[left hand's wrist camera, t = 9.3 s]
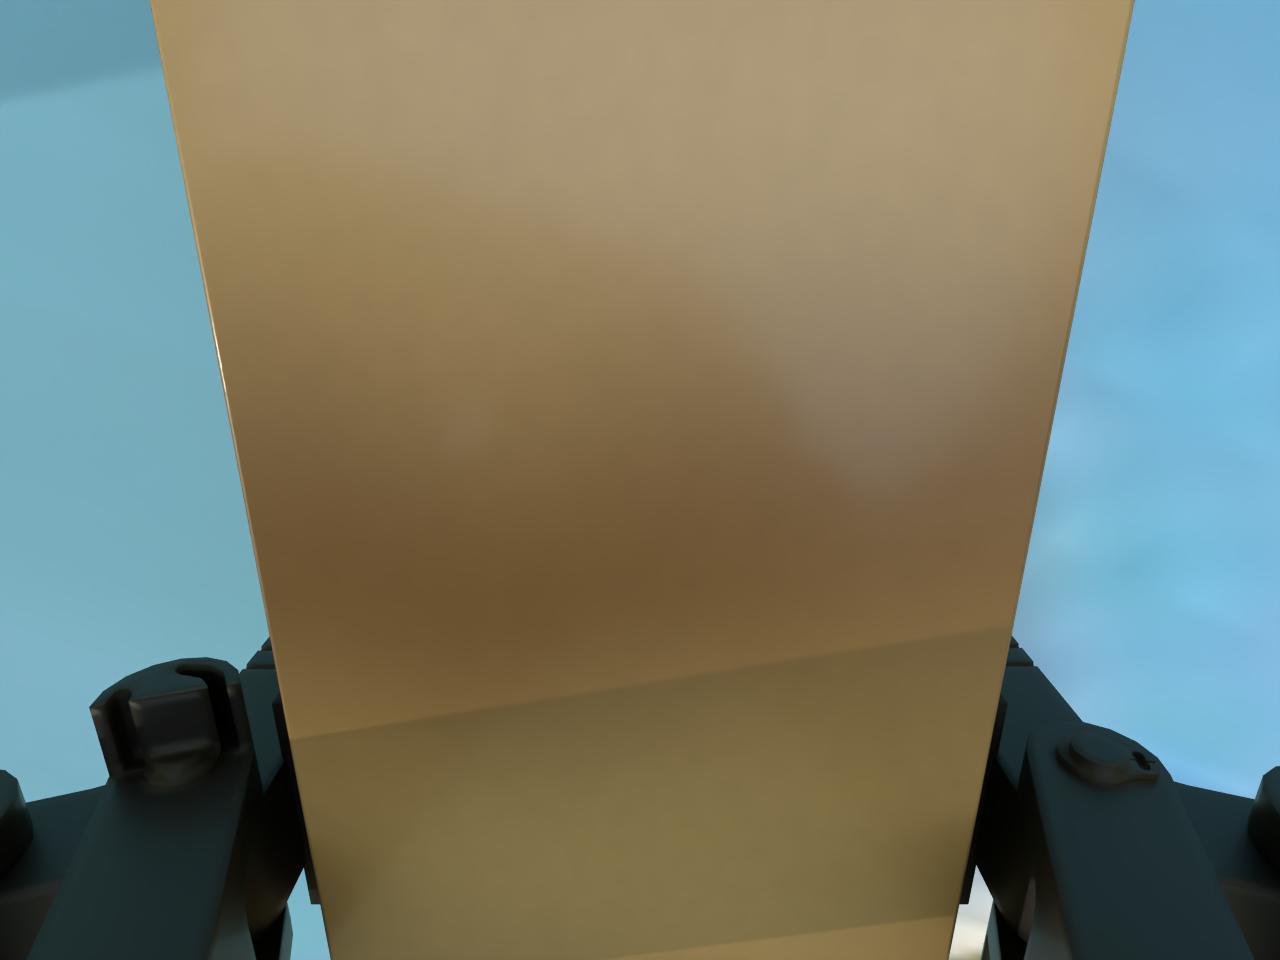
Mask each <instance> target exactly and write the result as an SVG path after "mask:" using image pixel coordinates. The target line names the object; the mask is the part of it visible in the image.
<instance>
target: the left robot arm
mask: <svg viewBox="0 0 1280 960" xmlns="http://www.w3.org/2000/svg"><path fill="white" fill-rule="evenodd" d="M261 647H262V649H261V651H257V653H256V654H255V655H254V656H253V657H252V659H251V660H250V661H249V662H248V664H247V668H246V669H243V670H242V671H241V672H240V673H239V672H238V670H237V669H236V668H235V667H233V666H232V665H231V664H230V663H228V662H227V661H223V660H218V659H213V658H208V657H203V658H185V659H178V660H174V661H169V662H165V663H161V664H157V665H153V666H150V667H148V668H146V669H143V670H141V671H138V672H136V673H133V674H131V675H129V676H126V677H125V678H123V679H121V680H120V681H118V682H117V683H115V684H114V685H112V686H111V687H109V688H108V689H106V690H104V691H103V692H102V693H101V694H100V696H99V697H98V698H97V699H96V700H95V701H94V702H93V704H92V705H91V706H90V707H89V708H90V711H91V715H92V718H93V721H94V725H95V728H96V732H97V735H98V738H99V742H100V745H101V749H102V752H103V755H104V759H105V762H106V765H107V769H108V772H109V778H108V781H107V783H106V785H104V786H100V787H97V788H93V789H89V790H84V791H79V792H75V793H70V794H65V795H61V796H56V797H51V798H46V799H42V800H37V801H32V802H28V803H25V800H24V797H23V794H22V791H21V788H20V785H19V783H18V780H17V779H16V778H15V777H14V776H12V775H11V774H9V773H8V772H7V771H5V770H0V960H290V955H291V947H292V938H293V931H292V925H291V918H290V913H289V908H288V903H287V900H288V898H289V896H290V894H291V892H292V890H293V888H294V886H295V884H296V882H297V880H298V878H299V876H300V874H301V872H302V870H303V868H304V870H305V876H306V881H307V886H308V891H309V896H310V901H311V904H320V899H319V894H318V889H317V884H316V878H315V873H314V868H313V862H312V857H311V852H310V846H309V841H308V836H307V831H306V825H305V820H304V815H303V809H302V804H301V799H300V793H299V788H298V783H297V778H296V772H295V767H294V762H293V756H292V751H291V746H290V740H289V735H288V730H287V725H286V719H285V714H284V709H283V703H282V698H281V693H280V687H279V682H278V677H277V671H276V666H275V661H274V656H273V650H272V645H271V640H270V637H269V638H268V639H267V640H266V642H265V643H264V644H263V645H262V646H261ZM976 865H977V867H978V869H979V871H980V873H981V875H982V877H983V879H984V881H985V883H986V885H987V887H988V889H989V891H990V893H991V895H992V897H993V903H992V908H991V913H990V918H989V922H988V927H987V932H986V937H985V941H984V946H983V951H982V955H981V960H1280V766H1276V767H1274V768H1273V769H1272V770H1270V771H1269V772H1267V773H1266V774H1265V775H1263V778H1262V780H1261V783H1260V786H1259V789H1258V792H1257V795H1256V798H1255V799H1250V798H1245V797H1241V796H1236V795H1231V794H1226V793H1222V792H1217V791H1212V790H1207V789H1203V788H1198V787H1193V786H1189V785H1185V784H1181V783H1178V782H1174V781H1173V779H1172V777H1171V775H1170V774H1169V772H1168V771H1167V770H1166V768H1165V767H1164V766H1163V764H1162V763H1161V762H1160V760H1159V759H1158V758H1157V757H1156V756H1155V755H1153V754H1152V753H1151V752H1149V751H1148V750H1147V749H1145V748H1144V747H1143V746H1141V745H1140V744H1139V743H1137V742H1136V741H1134V740H1132V739H1130V738H1127V737H1125V736H1123V735H1121V734H1119V733H1117V732H1115V731H1113V730H1111V729H1107V728H1103V727H1100V726H1096V725H1092V724H1089V723H1085V722H1083V721H1082V720H1081V719H1080V718H1079V717H1078V715H1077V714H1076V713H1075V712H1074V711H1073V709H1072V708H1071V707H1070V706H1069V704H1068V703H1067V702H1066V701H1065V700H1064V698H1063V697H1062V696H1061V695H1060V694H1059V692H1058V691H1057V690H1056V689H1055V687H1054V686H1053V685H1052V684H1051V683H1050V681H1049V680H1048V679H1047V678H1046V677H1045V675H1044V674H1043V673H1042V672H1041V670H1040V669H1039V668H1038V667H1037V666H1034V665H1033V661H1032V660H1031V658H1030V657H1029V656H1028V655H1027V653H1026V652H1025V651H1024V650H1023V649H1022V648H1019V646H1018V643H1017V641H1016V640H1015V639H1014V638H1013V636H1012V635H1011V640H1010V645H1009V650H1008V656H1007V661H1006V666H1005V671H1004V676H1003V681H1002V687H1001V692H1000V697H999V702H998V707H997V712H996V717H995V723H994V728H993V733H992V738H991V743H990V748H989V753H988V759H987V764H986V769H985V774H984V779H983V784H982V789H981V795H980V800H979V805H978V810H977V815H976V820H975V826H974V831H973V836H972V841H971V846H970V851H969V856H968V862H967V867H966V872H965V877H964V882H963V887H962V892H961V898H960V903H959V904H968V903H969V898H970V893H971V888H972V883H973V878H974V873H975V868H976Z"/></svg>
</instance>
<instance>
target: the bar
mask: <svg viewBox="0 0 1280 960" xmlns="http://www.w3.org/2000/svg"><path fill="white" fill-rule="evenodd" d="M1134 2H1135V0H150V4H151V9H152V14H153V19H154V25H155V30H156V35H157V41H158V46H159V51H160V57H161V62H162V67H163V72H164V78H165V83H166V88H167V94H168V99H169V104H170V110H171V115H172V120H173V125H174V131H175V136H176V141H177V147H178V152H179V157H180V163H181V168H182V173H183V178H184V184H185V189H186V194H187V200H188V205H189V210H190V216H191V221H192V226H193V231H194V237H195V242H196V247H197V253H198V258H199V263H200V269H201V274H202V279H203V284H204V290H205V295H206V300H207V306H208V311H209V316H210V322H211V327H212V332H213V338H214V343H215V348H216V353H217V359H218V364H219V369H220V375H221V380H222V385H223V391H224V396H225V401H226V406H227V412H228V417H229V422H230V428H231V433H232V438H233V444H234V449H235V454H236V459H237V465H238V470H239V475H240V481H241V486H242V491H243V497H244V502H245V507H246V512H247V518H248V523H249V528H250V534H251V539H252V544H253V550H254V555H255V560H256V565H257V571H258V576H259V581H260V587H261V592H262V597H263V603H264V608H265V613H266V618H267V624H268V629H269V634H270V640H271V645H272V650H273V656H274V661H275V666H276V671H277V677H278V682H279V687H280V693H281V698H282V703H283V709H284V714H285V719H286V725H287V730H288V735H289V740H290V746H291V751H292V756H293V762H294V767H295V772H296V778H297V783H298V788H299V793H300V799H301V804H302V809H303V815H304V820H305V825H306V831H307V836H308V841H309V846H310V852H311V857H312V862H313V868H314V873H315V878H316V884H317V889H318V894H319V899H320V905H321V910H322V915H323V921H324V926H325V931H326V937H327V942H328V947H329V952H330V958H331V960H948V959H949V954H950V949H951V944H952V939H953V934H954V929H955V923H956V918H957V913H958V908H959V903H960V898H961V892H962V887H963V882H964V877H965V872H966V867H967V862H968V856H969V851H970V846H971V841H972V836H973V831H974V826H975V820H976V815H977V810H978V805H979V800H980V795H981V789H982V784H983V779H984V774H985V769H986V764H987V759H988V753H989V748H990V743H991V738H992V733H993V728H994V723H995V717H996V712H997V707H998V702H999V697H1000V692H1001V687H1002V681H1003V676H1004V671H1005V666H1006V661H1007V656H1008V650H1009V645H1010V640H1011V635H1012V630H1013V625H1014V620H1015V614H1016V609H1017V604H1018V599H1019V594H1020V589H1021V584H1022V578H1023V573H1024V568H1025V563H1026V558H1027V553H1028V547H1029V542H1030V537H1031V532H1032V527H1033V522H1034V517H1035V511H1036V506H1037V501H1038V496H1039V491H1040V486H1041V481H1042V475H1043V470H1044V465H1045V460H1046V455H1047V450H1048V444H1049V439H1050V434H1051V429H1052V424H1053V419H1054V414H1055V408H1056V403H1057V398H1058V393H1059V388H1060V383H1061V378H1062V372H1063V367H1064V362H1065V357H1066V352H1067V347H1068V342H1069V336H1070V331H1071V326H1072V321H1073V316H1074V311H1075V305H1076V300H1077V295H1078V290H1079V285H1080V280H1081V275H1082V269H1083V264H1084V259H1085V254H1086V249H1087V244H1088V239H1089V233H1090V228H1091V223H1092V218H1093V213H1094V208H1095V202H1096V197H1097V192H1098V187H1099V182H1100V177H1101V172H1102V166H1103V161H1104V156H1105V151H1106V146H1107V141H1108V136H1109V130H1110V125H1111V120H1112V115H1113V110H1114V105H1115V99H1116V94H1117V89H1118V84H1119V79H1120V74H1121V69H1122V63H1123V58H1124V53H1125V48H1126V43H1127V38H1128V33H1129V27H1130V22H1131V17H1132V12H1133V7H1134Z"/></svg>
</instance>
